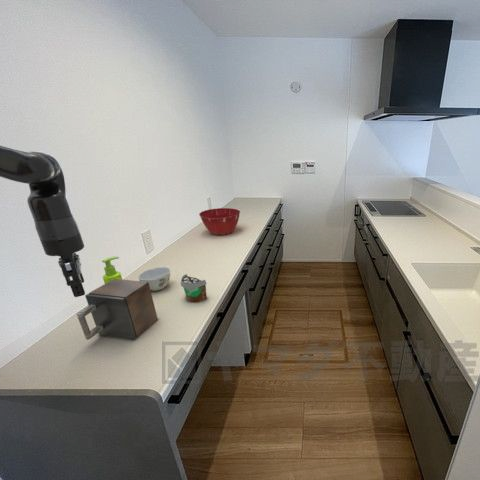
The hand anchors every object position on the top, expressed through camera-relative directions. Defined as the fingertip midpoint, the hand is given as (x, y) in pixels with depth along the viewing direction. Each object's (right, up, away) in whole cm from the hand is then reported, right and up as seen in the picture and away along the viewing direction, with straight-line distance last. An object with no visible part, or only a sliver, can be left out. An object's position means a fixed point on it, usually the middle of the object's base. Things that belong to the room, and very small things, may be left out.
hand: (79, 289), depth 73 cm
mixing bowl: (-7, +19, +126) cm, 127 cm away
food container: (+11, -13, +42) cm, 45 cm away
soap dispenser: (-19, -13, +40) cm, 47 cm away
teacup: (-10, -10, +50) cm, 51 cm away
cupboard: (-4, -19, +25) cm, 31 cm away
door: (-5, -22, +17) cm, 28 cm away
